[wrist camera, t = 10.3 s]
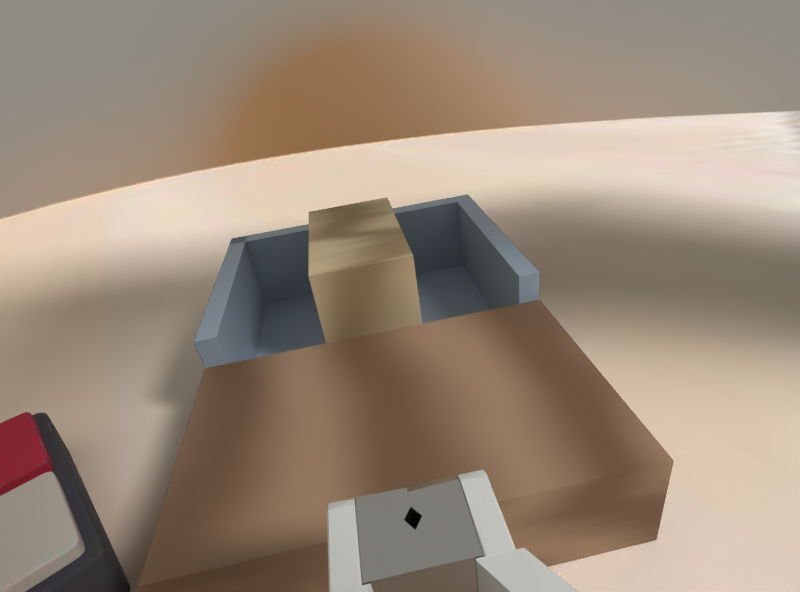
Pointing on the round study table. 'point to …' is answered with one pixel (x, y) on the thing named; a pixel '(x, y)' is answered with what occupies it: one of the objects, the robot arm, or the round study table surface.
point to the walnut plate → (403, 449)
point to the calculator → (49, 516)
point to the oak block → (361, 271)
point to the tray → (294, 301)
